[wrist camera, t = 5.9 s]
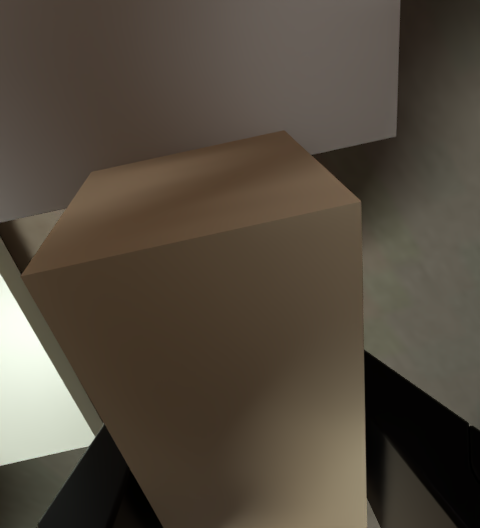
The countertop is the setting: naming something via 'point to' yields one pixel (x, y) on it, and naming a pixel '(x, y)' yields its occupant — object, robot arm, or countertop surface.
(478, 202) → the countertop surface
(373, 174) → the countertop surface
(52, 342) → the board
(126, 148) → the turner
